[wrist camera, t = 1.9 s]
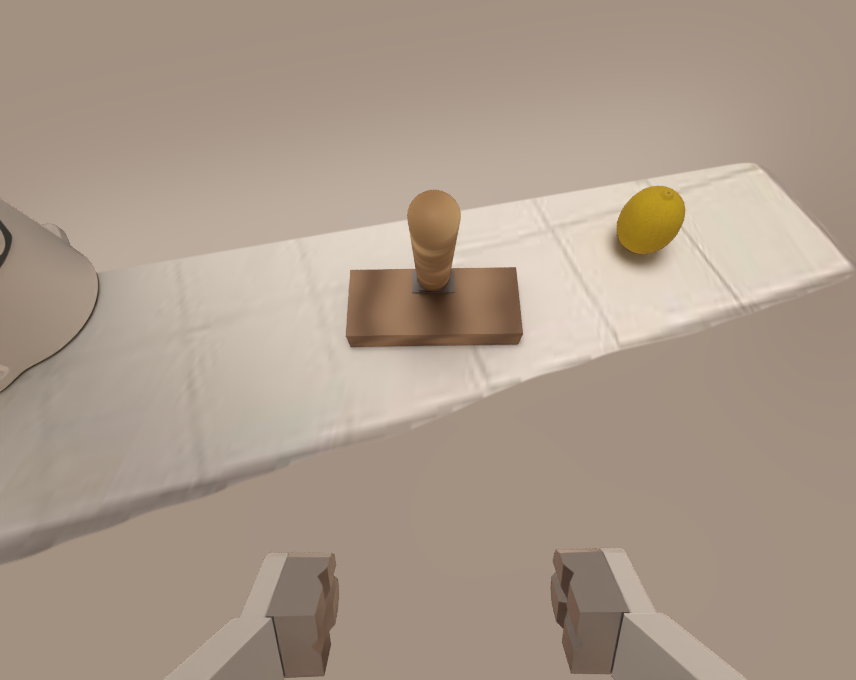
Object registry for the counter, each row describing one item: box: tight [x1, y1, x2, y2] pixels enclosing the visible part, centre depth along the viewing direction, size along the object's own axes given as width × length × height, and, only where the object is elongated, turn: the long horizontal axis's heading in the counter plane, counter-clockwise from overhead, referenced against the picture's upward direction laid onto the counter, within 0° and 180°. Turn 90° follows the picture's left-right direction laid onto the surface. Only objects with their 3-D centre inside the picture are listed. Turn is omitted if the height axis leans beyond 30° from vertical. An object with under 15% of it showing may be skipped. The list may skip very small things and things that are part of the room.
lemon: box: [617, 186, 685, 254], centre depth 43 cm, size 6×6×8 cm
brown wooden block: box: [346, 267, 523, 347], centre depth 43 cm, size 16×7×3 cm, turn 91°
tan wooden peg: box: [407, 190, 461, 292], centre depth 34 cm, size 3×3×17 cm
